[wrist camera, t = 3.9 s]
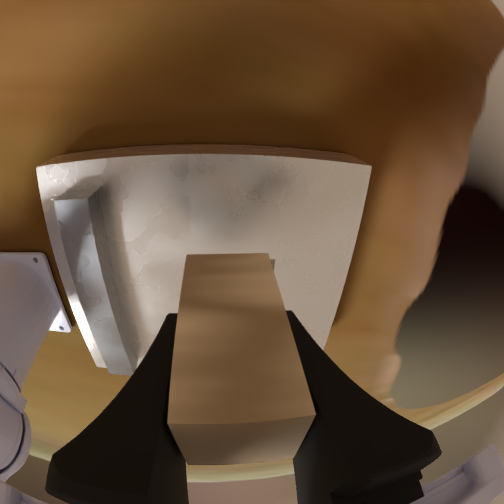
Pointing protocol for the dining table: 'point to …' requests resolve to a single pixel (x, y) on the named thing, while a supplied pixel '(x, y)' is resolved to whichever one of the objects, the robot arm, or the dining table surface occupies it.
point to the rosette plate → (195, 231)
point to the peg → (235, 365)
